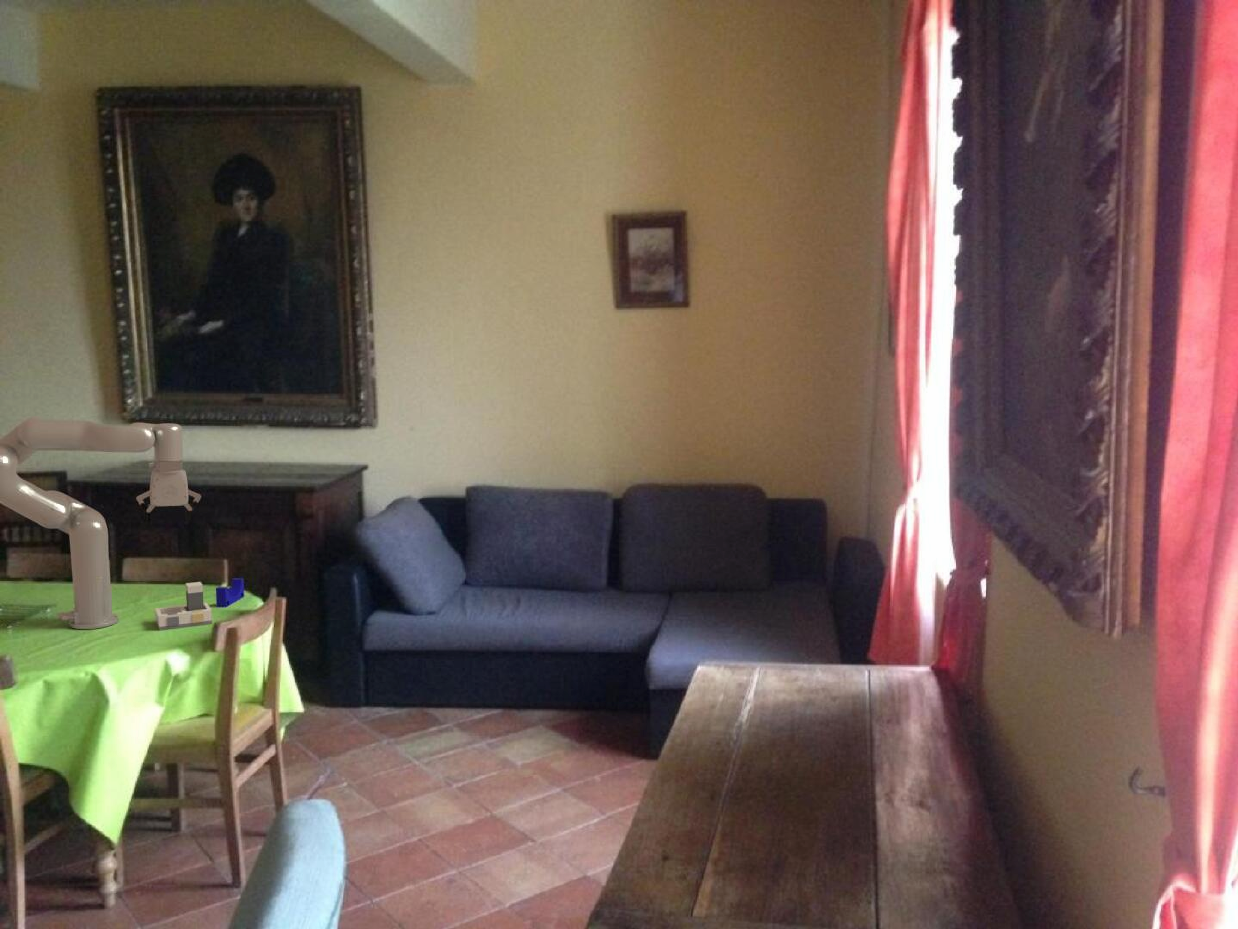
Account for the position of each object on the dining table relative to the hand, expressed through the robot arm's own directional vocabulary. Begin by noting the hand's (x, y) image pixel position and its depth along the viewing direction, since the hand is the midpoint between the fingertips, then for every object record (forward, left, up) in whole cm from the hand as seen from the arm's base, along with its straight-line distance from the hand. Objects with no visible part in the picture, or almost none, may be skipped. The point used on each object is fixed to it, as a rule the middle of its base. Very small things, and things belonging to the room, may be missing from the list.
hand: (169, 524), depth 309 cm
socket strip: (+1, -10, -27) cm, 29 cm away
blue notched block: (+16, +7, -27) cm, 33 cm away
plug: (+5, -10, -26) cm, 28 cm away
